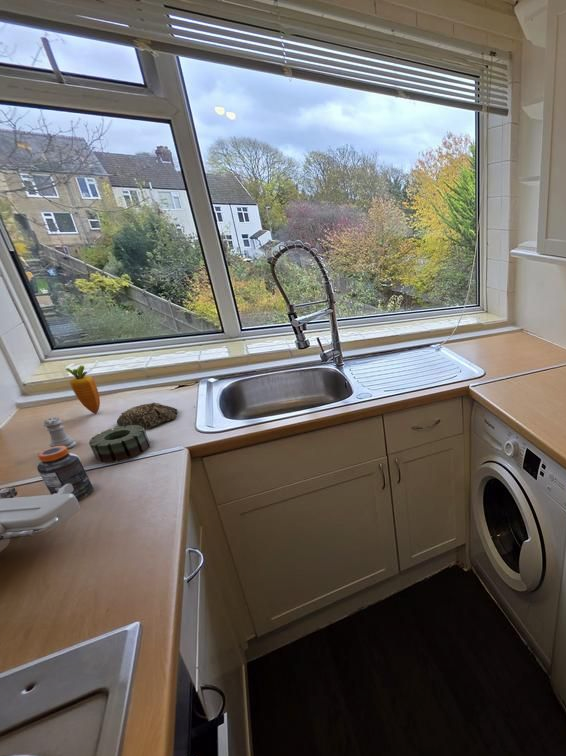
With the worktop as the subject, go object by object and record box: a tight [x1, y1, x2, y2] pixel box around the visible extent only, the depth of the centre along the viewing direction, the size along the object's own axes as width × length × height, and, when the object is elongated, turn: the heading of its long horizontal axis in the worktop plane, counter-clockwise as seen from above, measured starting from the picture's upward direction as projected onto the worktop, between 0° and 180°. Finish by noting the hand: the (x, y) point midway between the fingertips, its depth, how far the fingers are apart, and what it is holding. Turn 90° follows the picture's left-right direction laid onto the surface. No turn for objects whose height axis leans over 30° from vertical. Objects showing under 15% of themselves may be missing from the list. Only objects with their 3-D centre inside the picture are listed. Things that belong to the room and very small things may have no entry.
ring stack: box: [88, 425, 151, 464], centre depth 101 cm, size 10×10×5 cm
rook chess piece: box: [42, 416, 77, 450], centre depth 101 cm, size 4×4×8 cm
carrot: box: [65, 364, 101, 415], centre depth 117 cm, size 5×5×15 cm
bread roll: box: [116, 402, 179, 429], centre depth 116 cm, size 13×12×5 cm
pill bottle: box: [36, 446, 95, 501], centre depth 84 cm, size 6×6×11 cm
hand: (40, 488), depth 79 cm, fingers open, 8 cm apart
